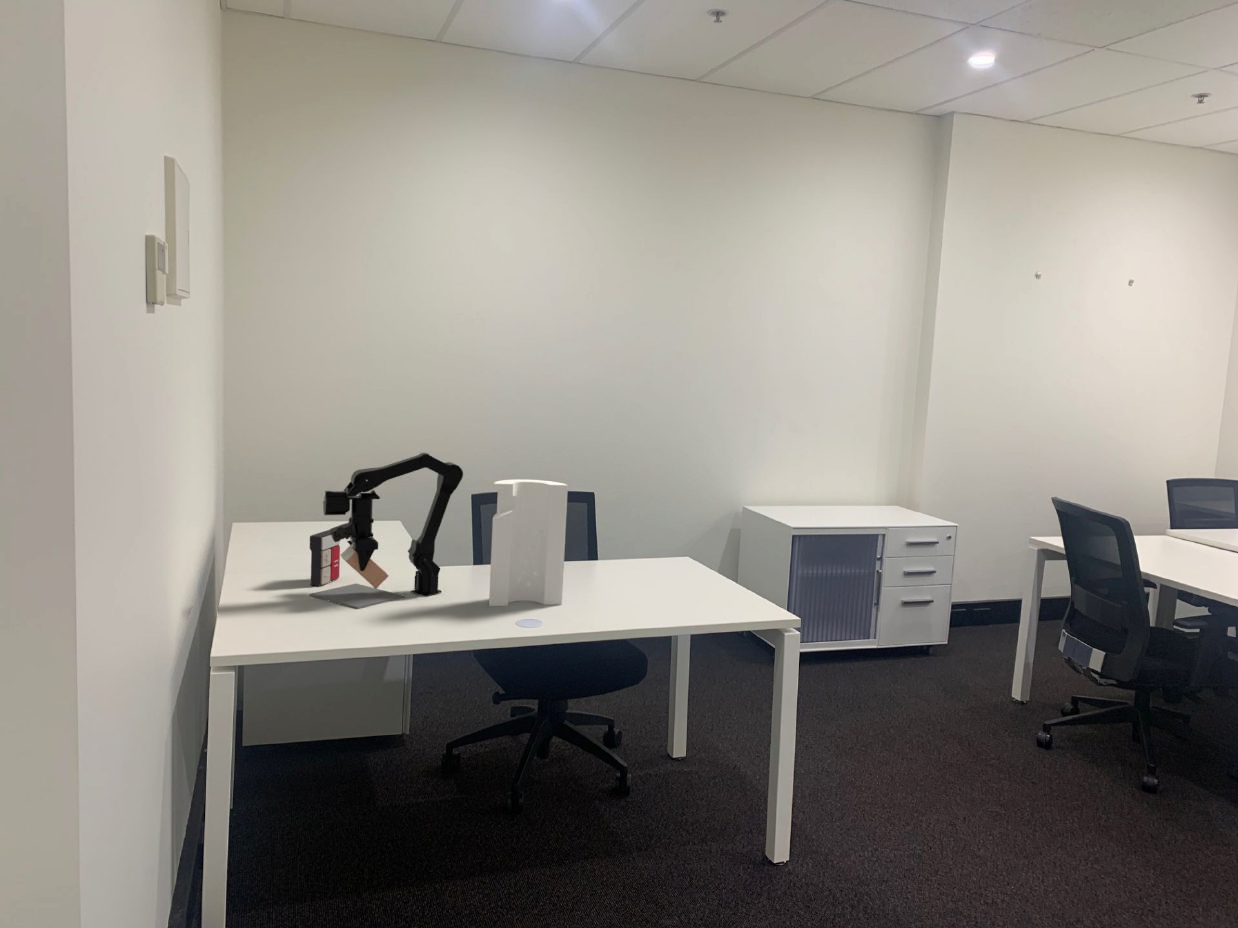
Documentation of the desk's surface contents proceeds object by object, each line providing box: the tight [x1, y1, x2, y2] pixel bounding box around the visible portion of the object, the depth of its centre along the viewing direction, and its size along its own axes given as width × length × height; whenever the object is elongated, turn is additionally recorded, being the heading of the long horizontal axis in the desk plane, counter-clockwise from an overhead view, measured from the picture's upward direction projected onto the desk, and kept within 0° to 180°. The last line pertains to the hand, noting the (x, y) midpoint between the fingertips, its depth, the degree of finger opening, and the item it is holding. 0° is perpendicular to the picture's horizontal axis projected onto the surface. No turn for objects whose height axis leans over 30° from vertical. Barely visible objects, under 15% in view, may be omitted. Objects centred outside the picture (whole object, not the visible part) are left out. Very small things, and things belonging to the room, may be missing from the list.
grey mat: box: [308, 583, 405, 610], centre depth 252 cm, size 20×17×1 cm
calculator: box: [309, 529, 341, 587], centre depth 265 cm, size 11×4×15 cm, turn 168°
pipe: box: [488, 478, 569, 607], centre depth 256 cm, size 35×11×21 cm
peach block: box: [340, 543, 389, 589], centre depth 251 cm, size 5×5×13 cm
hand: (360, 568), depth 251 cm, fingers closed on peach block, 5 cm apart
